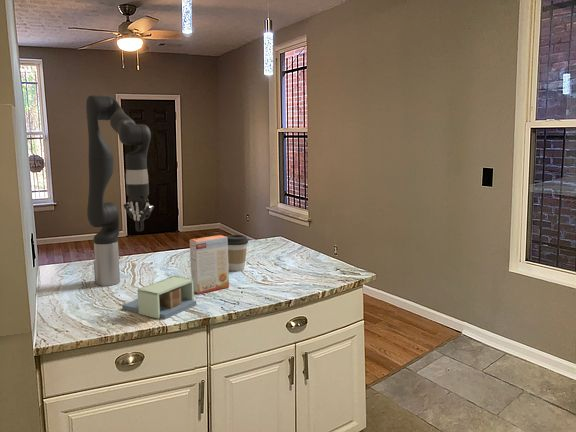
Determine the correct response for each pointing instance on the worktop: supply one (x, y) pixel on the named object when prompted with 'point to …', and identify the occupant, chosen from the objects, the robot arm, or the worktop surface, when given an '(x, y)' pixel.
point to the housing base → (164, 311)
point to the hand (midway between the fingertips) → (139, 230)
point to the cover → (150, 293)
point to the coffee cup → (236, 252)
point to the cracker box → (209, 263)
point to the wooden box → (170, 298)
